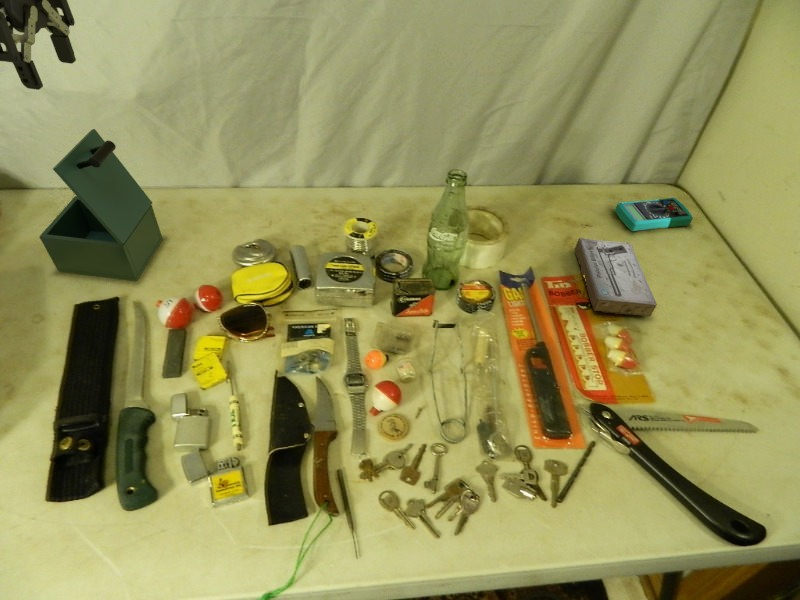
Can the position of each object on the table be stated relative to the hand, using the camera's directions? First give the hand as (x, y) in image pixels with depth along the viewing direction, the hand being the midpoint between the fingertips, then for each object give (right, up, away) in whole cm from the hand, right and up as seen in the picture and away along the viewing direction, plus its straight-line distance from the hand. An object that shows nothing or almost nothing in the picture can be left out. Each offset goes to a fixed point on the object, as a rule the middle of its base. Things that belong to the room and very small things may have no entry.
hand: (52, 74), depth 75 cm
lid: (+3, -14, +8) cm, 17 cm away
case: (-2, -24, +19) cm, 31 cm away
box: (+88, -29, +24) cm, 96 cm away
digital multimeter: (+103, -15, +38) cm, 111 cm away
